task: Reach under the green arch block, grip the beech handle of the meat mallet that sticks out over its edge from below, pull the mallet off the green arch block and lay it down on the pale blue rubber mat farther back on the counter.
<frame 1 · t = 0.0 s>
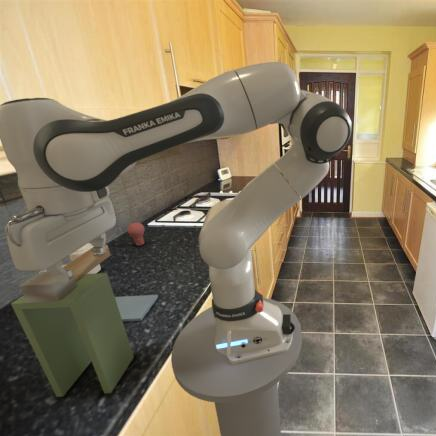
hand: (84, 266, 52), 32 cm above the worktop, tool pointing down, fingers open, 8 cm apart
light bulb: (140, 245, 135), on the worktop
mat: (125, 309, 89), on the worktop
small box: (68, 303, 92), on the worktop
beverage can: (89, 273, 111), on the worktop
mallet: (63, 286, 57), point 26 cm above the worktop, touching green arch block
green arch block: (98, 375, 66), on the worktop
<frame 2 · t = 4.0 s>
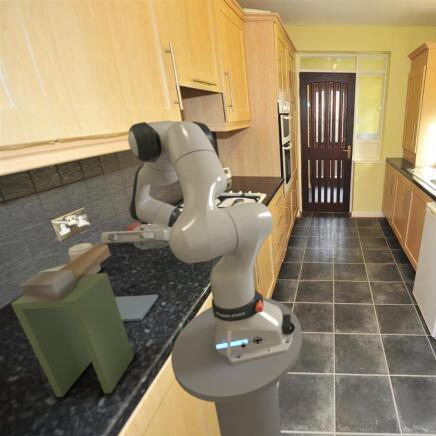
hand: (125, 235, 82), 26 cm above the worktop, tool pointing upward, fingers open, 8 cm apart
nothing on the worktop moved.
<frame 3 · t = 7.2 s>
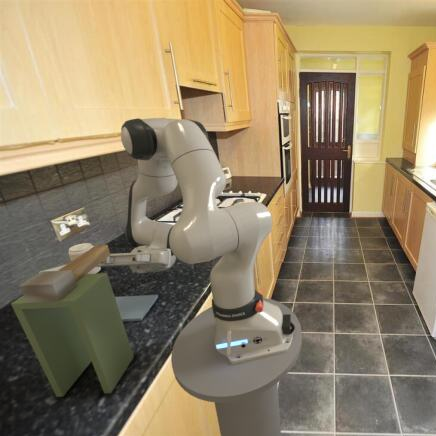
hand: (117, 258, 75), 23 cm above the worktop, tool pointing upward, fingers open, 8 cm apart
nothing on the worktop moved.
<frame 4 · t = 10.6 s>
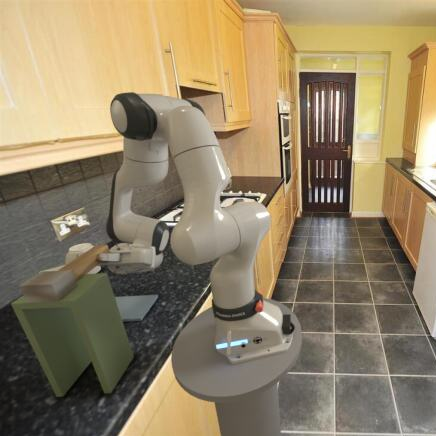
hand: (90, 257, 65), 28 cm above the worktop, tool pointing upward, fingers closed on mallet, 3 cm apart
mallet: (63, 286, 57), point 26 cm above the worktop, touching gripper, green arch block
everything else where it was.
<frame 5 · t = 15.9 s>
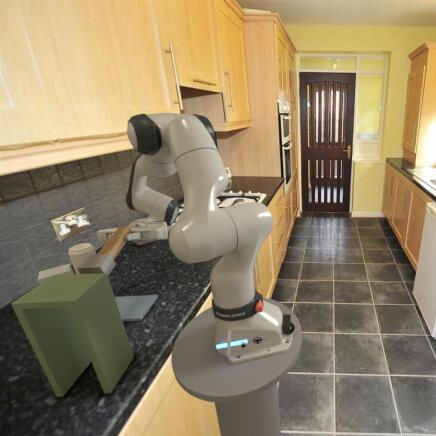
hand: (118, 238, 82), 25 cm above the worktop, tool horizontal, fingers closed on mallet, 3 cm apart
mallet: (105, 264, 76), point 21 cm above the worktop, tilted 16°, touching gripper
everything else where it was.
when the fingers open (5 cm above the worktop, at t = 21.2 s): mallet stays where it is, resting on mat.
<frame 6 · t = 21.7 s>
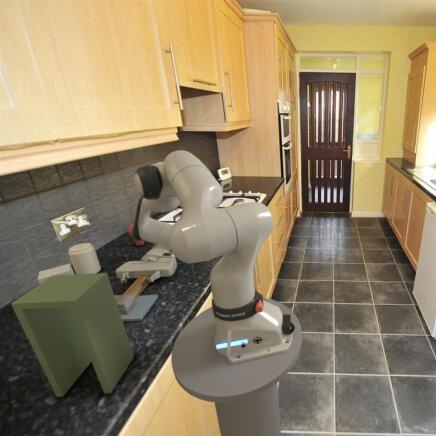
hand: (136, 281, 96), 5 cm above the worktop, tool horizontal, fingers open, 8 cm apart
mallet: (126, 304, 90), point 1 cm above the worktop, touching mat
everything else where it was.
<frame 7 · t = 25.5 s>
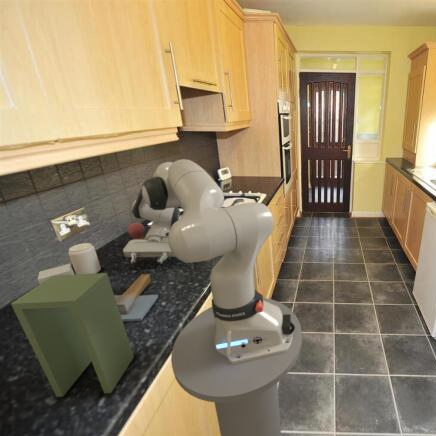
hand: (146, 262, 106), 6 cm above the worktop, tool tilted 75°, fingers open, 8 cm apart
nothing on the worktop moved.
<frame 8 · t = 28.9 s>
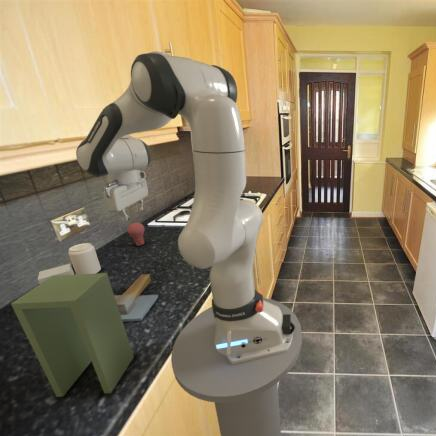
hand: (133, 215, 95), 27 cm above the worktop, tool pointing down, fingers open, 8 cm apart
nothing on the worktop moved.
at the end: mallet inside the target area on the mat (1.1 cm from its centre), point 1.0 cm above the mat's base; the gripper is holding nothing; mallet tilted 0° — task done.
